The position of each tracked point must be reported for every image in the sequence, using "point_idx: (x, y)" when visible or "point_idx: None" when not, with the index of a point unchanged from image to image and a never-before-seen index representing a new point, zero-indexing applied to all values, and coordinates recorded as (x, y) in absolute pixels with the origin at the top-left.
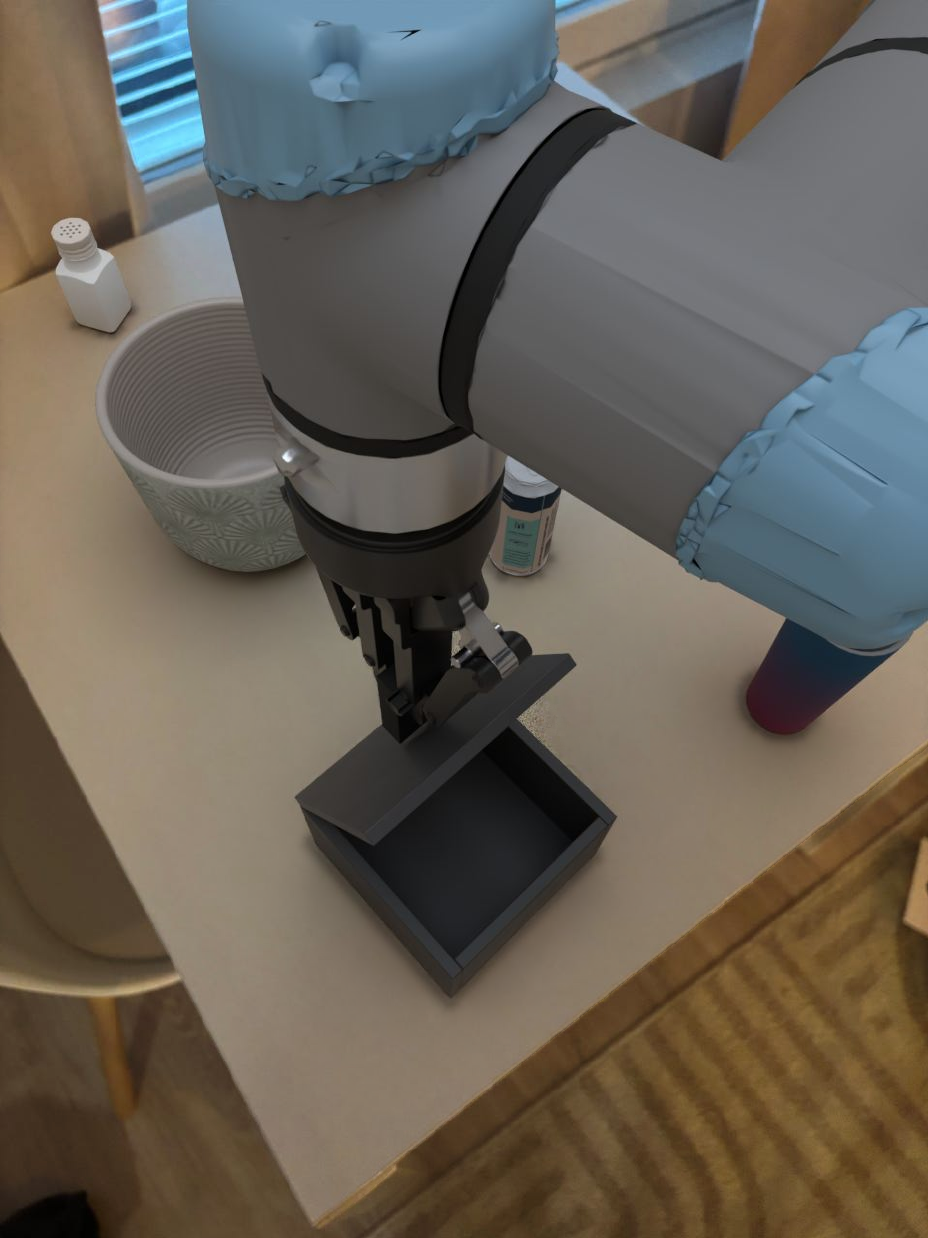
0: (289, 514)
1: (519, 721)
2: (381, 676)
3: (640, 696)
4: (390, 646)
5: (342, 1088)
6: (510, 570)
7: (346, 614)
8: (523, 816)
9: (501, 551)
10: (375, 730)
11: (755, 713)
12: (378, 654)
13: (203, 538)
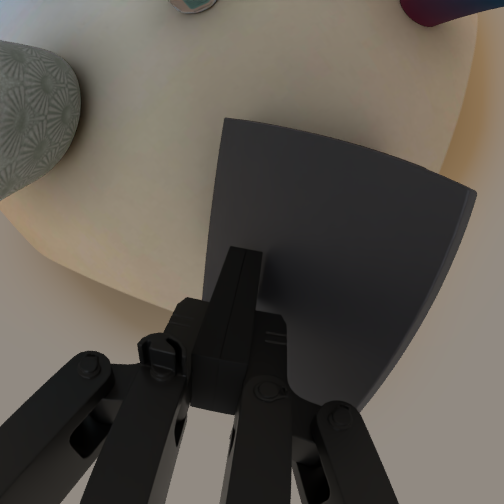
0: (35, 131)
1: (313, 133)
2: (196, 405)
3: (347, 34)
4: (175, 446)
5: None
6: (200, 9)
7: (92, 460)
8: None
9: (184, 4)
10: (210, 229)
11: (417, 19)
12: (175, 460)
13: (26, 183)
